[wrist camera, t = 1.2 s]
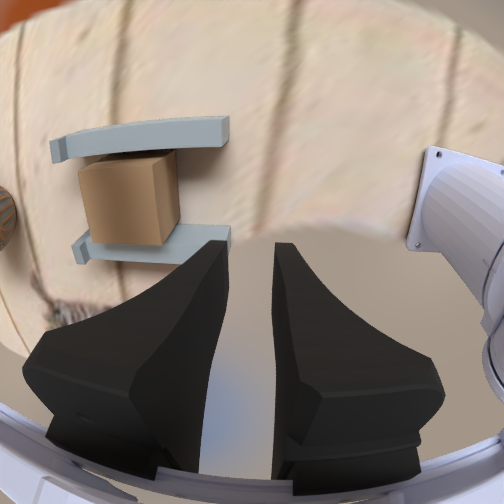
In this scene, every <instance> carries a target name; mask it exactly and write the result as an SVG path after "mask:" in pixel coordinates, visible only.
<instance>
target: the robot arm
mask: <svg viewBox="0 0 504 504" xmlns="http://www.w3.org/2000/svg"><path fill="white" fill-rule="evenodd" d="M438 151H439V156H438V157H436V154H437V152H438ZM501 170H502V172H501ZM417 243H419V245H418V246H416V244H417ZM406 247H407V249H408V250H410V251H423V252H441V253H442V255H443V256H444V257H445V258H446V259H447V261H448V262H449V263H450V264H451V266H452V267H453V268H454V270H455V271H456V272H457V273H458V275H459V276H460V277H461V279H462V280H463V281H464V283H465V284H466V285H467V287H468V288H469V289H470V291H471V292H472V293H473V295H474V296H475V298H476V299H477V300H478V302H479V303H480V305H481V306H482V308H483V309H484V316H483V318H482V320H481V325H482V327H483V328H484V330H485V332H486V333H487V335H488V339H487V340H486V342H485V344H484V348H483V352H482V364H483V368H484V372H485V375H486V378H487V380H488V383H489V385H490V387H491V389H492V390H493V392H494V393H495V395H496V396H497V397H498V399H499V400H500V401H501V402H502V403H503V404H504V166H502V165H499V164H496V163H493V162H490V161H487V160H483V159H480V158H477V157H473V156H470V155H466V154H463V153H459V152H456V151H452V150H448V149H444V148H440V147H436V146H428V147H427V148H426V151H425V157H424V163H423V169H422V175H421V180H420V185H419V190H418V195H417V200H416V204H415V209H414V213H413V217H412V221H411V225H410V229H409V233H408V237H407V241H406ZM228 292H229V272H228V244H227V240H210V241H208V242H207V243H206V244H205V245H204V246H202V247H201V248H200V249H199V250H198V251H197V252H196V253H195V254H193V255H192V256H191V257H190V258H189V259H188V260H186V261H185V262H184V263H183V264H182V265H181V266H179V267H178V268H177V269H175V270H174V271H173V272H171V273H170V274H169V275H167V276H166V277H165V278H164V279H162V280H161V281H159V282H158V283H156V284H155V285H153V286H152V287H150V288H149V289H147V290H145V291H144V292H142V293H141V294H139V295H137V296H135V297H134V298H132V299H130V300H128V301H126V302H124V303H122V304H120V305H118V306H116V307H114V308H112V309H110V310H108V311H105V312H103V313H101V314H98V315H96V316H93V317H91V318H88V319H85V320H83V321H80V322H77V323H74V324H71V325H67V326H64V327H61V328H57V329H54V330H50V331H46V332H45V333H44V334H43V336H42V337H41V339H40V340H39V342H38V343H37V345H36V346H35V348H34V349H33V351H32V353H31V354H30V356H29V357H28V359H27V360H26V362H25V364H24V365H23V367H22V370H23V371H22V372H23V376H24V378H25V381H26V383H27V384H28V385H29V387H30V388H31V390H32V391H33V392H34V393H35V394H36V396H37V397H38V398H39V399H40V400H41V401H42V402H43V404H44V405H45V406H46V407H47V408H48V409H49V410H50V411H51V412H52V413H53V414H54V417H53V419H52V421H51V424H50V426H49V428H47V427H45V426H43V425H41V424H39V423H37V422H35V421H33V420H31V419H29V418H27V417H25V416H24V415H22V414H20V413H18V412H17V411H14V410H13V409H11V408H10V407H8V406H6V405H4V404H3V403H1V402H0V490H2V491H3V492H4V493H5V494H6V495H7V496H8V497H9V498H11V499H12V500H13V501H14V502H15V503H16V504H142V503H138V502H137V501H138V499H137V498H136V497H134V496H132V495H130V494H128V493H126V492H123V491H122V490H120V489H118V488H116V487H114V486H113V485H112V484H110V483H109V482H108V481H106V480H104V479H102V478H100V477H97V476H95V475H93V474H91V473H89V472H87V471H85V470H83V469H86V470H88V471H91V472H93V473H96V474H98V475H102V476H104V477H107V478H109V479H113V480H115V481H118V482H121V483H124V484H128V485H131V486H134V487H138V488H141V489H145V490H149V491H153V492H157V493H161V494H166V495H170V496H174V497H179V498H184V499H190V500H196V501H202V502H210V503H217V504H339V503H347V502H354V501H360V500H364V501H360V502H355V503H351V504H504V428H503V429H502V430H501V431H500V433H499V434H497V435H494V436H492V437H490V438H488V439H485V440H483V441H481V442H478V443H476V444H473V445H471V446H468V447H466V448H463V449H460V450H458V451H455V452H452V453H449V454H446V455H443V456H440V457H436V458H433V459H430V460H426V461H422V462H419V457H418V452H417V448H416V447H418V446H419V445H420V444H421V438H420V434H419V430H420V429H421V428H422V427H423V426H424V425H425V424H426V423H427V422H428V421H429V420H430V419H431V418H432V417H433V416H434V415H435V414H436V412H437V411H438V410H439V408H440V407H441V406H442V404H443V402H444V399H445V392H444V388H443V386H442V383H441V380H440V377H439V375H438V372H437V370H436V368H435V366H434V363H433V362H432V360H431V358H429V357H427V356H425V355H423V354H421V353H419V352H416V351H414V350H412V349H410V348H408V347H406V346H404V345H402V344H400V343H399V342H397V341H395V340H393V339H392V338H390V337H388V336H387V335H385V334H383V333H382V332H380V331H379V330H377V329H376V328H374V327H373V326H371V325H369V324H368V323H367V322H366V321H364V320H363V319H362V318H360V317H359V316H358V315H356V314H355V313H354V312H352V311H351V310H350V309H349V308H347V307H346V306H345V305H344V304H343V303H342V302H341V301H340V300H339V299H338V298H336V297H335V296H334V295H333V294H332V293H331V292H330V291H329V290H328V289H327V288H326V286H325V285H324V284H323V283H322V282H321V281H320V280H319V278H318V277H317V276H316V275H315V273H314V272H313V271H312V269H311V268H310V267H309V266H308V264H307V263H306V261H305V260H304V259H303V257H302V256H301V254H300V253H299V251H298V250H297V248H296V246H295V245H294V244H293V243H275V253H274V269H273V285H272V325H273V337H274V348H275V360H276V399H275V423H274V443H273V459H272V474H271V480H258V479H241V478H229V477H219V476H211V475H204V474H198V472H199V459H200V458H199V457H200V446H201V436H202V427H203V418H204V410H205V402H206V395H207V388H208V381H209V375H210V369H211V364H212V360H213V356H214V353H215V349H216V345H217V342H218V338H219V334H220V331H221V327H222V323H223V320H224V316H225V312H226V307H227V300H228ZM82 468H83V469H82ZM366 499H368V500H366Z"/></svg>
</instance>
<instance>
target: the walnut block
mask: <svg viewBox="0 0 504 504" xmlns="http://www.w3.org/2000/svg"><path fill="white" fill-rule="evenodd" d="M78 176H79V182H80V187H81V193H82V198H83V203H84V208H85V212H86V217H87V221H88V226H89V230H90V234H91V238H92V242H93V243H108V244H134V245H159V246H162V245H163V243H164V242H165V240H166V239H167V237H168V236H169V234H170V233H171V231H172V229H173V228H174V226H175V225H176V223H177V222H178V220H179V219H180V207H179V196H178V184H177V170H176V156H175V150H164V151H148V152H135V153H124V154H114V155H108V156H106V157H104V158H102V159H100V160H98V161H96V162H94V163H92V164H90V165H89V166H87V167H85V168H83V169H81V170H79V171H78Z"/></svg>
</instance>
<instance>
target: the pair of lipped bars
mask: <svg viewBox="0 0 504 504" xmlns="http://www.w3.org/2000/svg"><path fill="white" fill-rule="evenodd" d="M228 140H229V116H205V117H185V118H171V119H159V120H149V121H140V122H132V123H125V124H118V125H111V126H105V127H99V128H93V129H88V130H82V131H78V132H75V133H72V134H69V135H66V136H63V137H60V138H58V139H55V140H52V141H49V142H50V150H51V157H52V163H53V164H54V163H60V162H63V161H65V160H67V159H71V158H78V157H85V156H92V155H100V154H108V153H117V152H128V151H139V150H152V149H168V148H191V147H222V146H223V145H224V144H225V143H226V142H227V141H228ZM210 240H227V244H228V254H229V250H230V246H231V229H230V226H218V225H179V224H176V225H175V226H174V228H173V229H172V231H171V233H170V234H169V236H168V237H167V239H166V240H165V242H164V243H163V245H162V246H159V245H134V244H108V243H93V242H92V238H91V234H90V230H87V231H86V232H85V233H84V234H83V235H82V236H81V237H80V238H79V239H78V240H77V241H76V242H75V243H74V244H73V245H72V246H71V247H72V250H73V253H74V257H75V260H76V263H77V264H84V265H85V264H86V263H87V262H88V261H89V259H103V260H118V261H134V262H150V263H167V264H183V263H184V262H185V261H186V260H188V259H189V258H190V257H191V256H192V255H193V254H195V253H196V252H197V251H198V250H199V249H200V248H201V247H202V246H204V245H205V244H206V243H207V242H208V241H210Z"/></svg>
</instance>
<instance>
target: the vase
mask: <svg viewBox="0 0 504 504" xmlns="http://www.w3.org/2000/svg"><path fill="white" fill-rule="evenodd" d="M15 222H16V209H15V204H14V201H13V199H12V197H11V195H10V194H9V193H8V191H7V190H5V189H4V188H3V187H1V186H0V251H1V250H2V249H3V248H4V247H5V246H6V244H7V243H8V241H9V239H10V238H11V236H12V234H13V231H14V227H15Z"/></svg>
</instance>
